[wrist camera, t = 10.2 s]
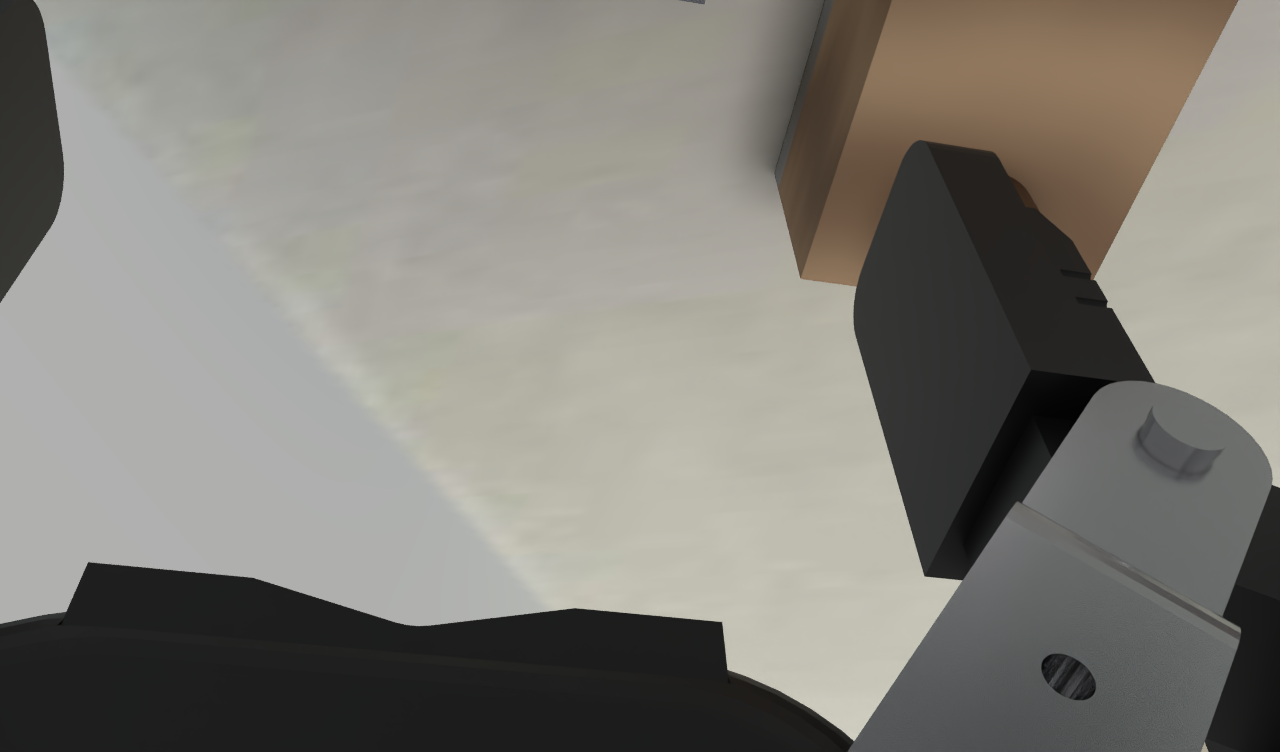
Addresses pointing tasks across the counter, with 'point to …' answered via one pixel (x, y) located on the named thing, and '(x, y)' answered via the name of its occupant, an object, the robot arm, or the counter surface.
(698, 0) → the mat
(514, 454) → the counter surface
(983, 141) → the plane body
